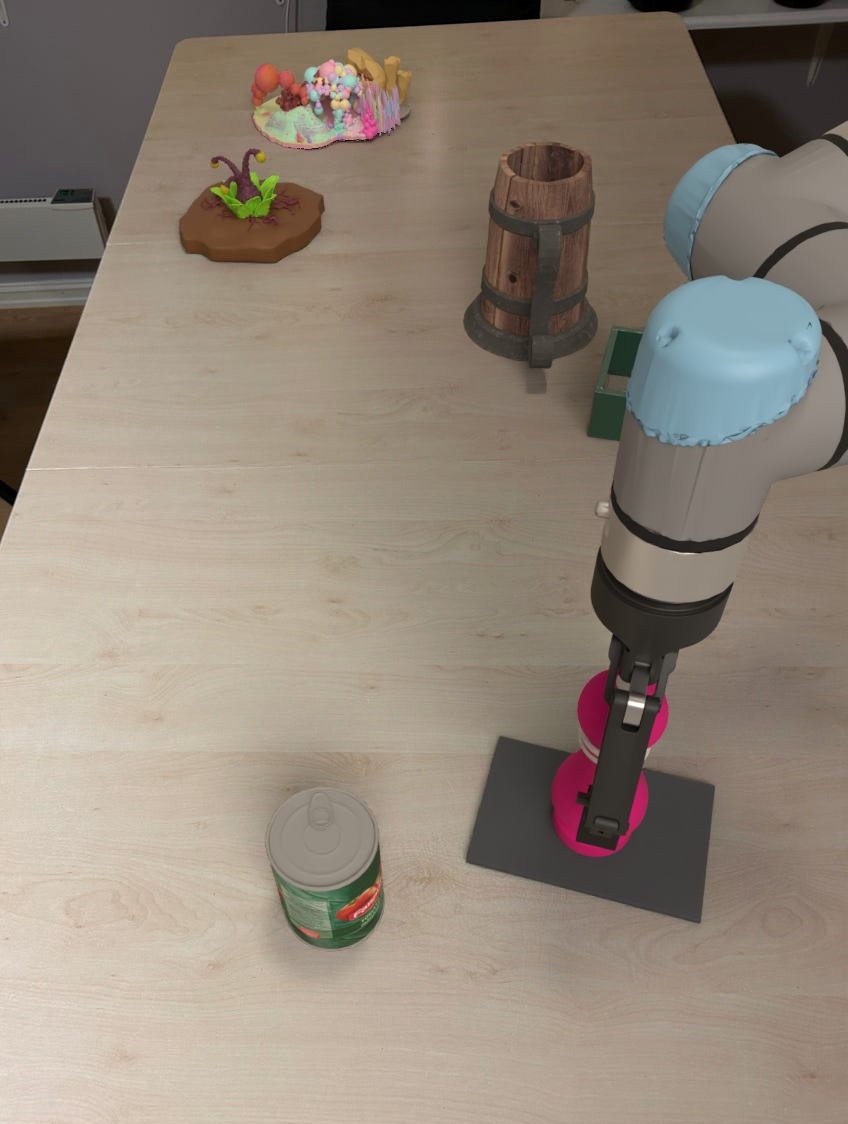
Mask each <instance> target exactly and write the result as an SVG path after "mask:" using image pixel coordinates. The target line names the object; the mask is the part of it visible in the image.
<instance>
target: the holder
mask: <svg viewBox="0 0 848 1124" xmlns="http://www.w3.org/2000/svg"><path fill="white" fill-rule="evenodd" d="M609 332H610V333H609V336H608V340H607V344H606V348H605V351H604V355H603V359H602V362H601V366H600V370H599V373H598V377H597V381H596V385H595V389H594V393H593V398H592V406H591V411H590V418H589V423H588V424H589V425H588V429H587V437H593V438H599V439H604V440H611V441H617V442H618V441H619V442H620V436H621V431H622V426H623V420H624V415H625V409H626V402H627V399H626V391H621V390H615V389H614V390H613V389H608V386H609V381H610V377H611V375H614V376H615V375H616V376H621V377H629V378H630V377H631V372H632V369H633V367H634V363H635V359H636V355H637V351H638V348H639V344H640V341H641V339H642V336H643V333H644V329H641V328H634V327H628V326H627V327H625V326H620V325H612V326H611V329H610V331H609Z"/></svg>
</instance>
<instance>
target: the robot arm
mask: <svg viewBox="0 0 848 1124" xmlns="http://www.w3.org/2000/svg"><path fill="white" fill-rule="evenodd" d="M663 231H664V232H663V237H662V238H663V241H664V243H665V246H666V248H667V250H668V252H669V254H670V256H671V257H672V259H673V260H674V262H675V263H676V264H677V267H679V269H680V270H681V271H682V273H683V274H684V275H685V277H686V279H687V280H688V282H685V283H683V284H681V285H679V286H677V287H676V288H675V289H673V290H672V291H670V292H668V293H667V294H666V295H665V296H664V297H662V298H661V299H660V300H659V301H658V303H657V304H656V305H655V306H654V307H653V309H652V311H651V312H650V314H649V317H648V319H647V321H646V324H645V327H644V329H643V330H644V333H643V336H642V339H641V341H640V344H639V348H638V351H637V355H636V359H635V363H634V367H633V369H632V372H631V377H629V378H628V380H627V386H626V389H625V392H626V399H627V402H626V409H625V415H624V420H623V426H622V431H621V436H620V441H619V443H618V448H617V453H616V459H615V464H614V469H613V475H612V483H611V487H610V494H609V498H608V499H598V500H597V501H596V503H595V507H594V515H595V516H596V517H598V518H600V519H601V518H602V519H605V520H604V524H603V528H602V534H601V539H600V546H599V547H598V551H597V554H596V559H595V564H594V569H593V574H592V580H591V585H590V602H591V606H592V609H593V612H594V614H595V615H596V617H597V619H598V620H599V621H600V623H601V624H602V625H603V626H604V628H606V630H608V631H609V632H610V633H611V638H610V643H609V649H608V656H607V657H608V659H609V662H610V663H609V667H608V669H609V672H608V676H607V681H606V685H605V690H604V700H605V702H606V703H607V704H608V705H609V711H608V715H607V720H606V724H605V729H604V733H603V738H602V742H601V747H600V751H599V756H598V760H597V765H596V770H595V774H594V779H593V783H592V785H590V784H589V787H588V791H587V793H584V792H580V791H578V794H577V799H576V804H579V805H583V806H584V807H583V811H582V815H581V819H580V823H579V827H578V831H577V835H576V840H575V841H576V842H580V843H584V844H588V845H592V846H596V847H600V848H604V849H608V850H612V851H615V850H616V847H617V844H618V841H619V838H620V835H621V836H625V835H626V833H627V831H628V830H629V826H630V823H629V818H630V814H631V810H632V806H633V802H634V798H635V794H636V791H637V787H638V783H639V779H640V775H641V771H642V769H643V767H644V763H645V760H646V759H645V755H646V751H647V747H648V744H649V740H650V736H651V732H652V729H653V726H654V722H655V719H656V716H657V714H658V713H660V710H661V706H662V702H663V698H664V694H665V693H666V689H667V685H668V680H669V677H670V675H671V674H672V673H673V672H674V671H675V669H676V665H677V661H678V658H679V651H680V650H682V649H683V650H684V649H685V648H686V649H687V648H689V647H692V646H694V645H696V644H699V643H700V642H702V641H704V640H705V639H707V638H708V637H709V636H710V635H711V634H712V633H713V632H714V631H715V630H716V628H717V627H718V625H719V623H720V622H721V619H722V618H723V617H722V616H723V615H724V612H725V609H726V606H727V603H728V600H729V597H730V595H731V592H732V589H733V586H734V583H735V581H736V580H737V578H738V575H739V572H740V570H741V567H742V565H743V562H744V559H745V556H746V554H747V552H748V549H749V546H750V544H751V541H752V538H753V536H754V533H755V531H756V528H757V525H758V523H759V517H760V514H761V511H762V509H763V507H764V505H765V502H766V499H767V497H768V495H769V492H770V491H771V487H772V486H773V485H774V484H775V483H777V482H779V481H783V480H788V479H792V478H797V477H802V476H806V475H810V474H813V473H815V472H820V471H821V472H822V471H824V470H829V469H834V468H838V467H842V466H847V465H848V120H846V121H844V122H843V123H841V124H839V125H838V126H835V127H833V128H831V129H830V130H828V131H826V132H825V133H823V134H821V136H819V137H818V138H816V139H813V140H810V141H809V142H806V143H805V144H803V145H801V146H799V147H798V148H795V149H794V150H792V151H790V152H789V153H786V154H785V155H782V156H781V157H779V156H778V154H777V153H776V152H774V151H773V150H769V149H765V148H763V147H761V146H759V145H757V144H753V143H743V142H742V143H735V144H725V145H722V146H720V147H718V148H715V149H713V150H712V151H710V152H708V153H706V154H705V155H703V157H701V158H700V159H698V160H697V161H696V162H695V163H694V164H693V165H692V166H691V167H690V168H689V169H688V170H687V171H686V172H685V173H684V174H683V176H682V177H681V178H680V180H679V181H678V183H677V184H676V186H675V188H674V189H673V191H672V193H671V195H670V197H669V200H668V202H667V205H666V209H665V212H664V217H663ZM618 668H619V676H620V678H621V680H623V681H624V682H626V683H630V687H629V691H627V690H622V689H618V688H616V687H615V681H616V677H617V672H618ZM656 682H657V683H656ZM655 683H656V688H655V692H654V694H653V695H646V693H647V686H650V685H653V684H655ZM665 695H666V694H665ZM644 759H645V760H644Z"/></svg>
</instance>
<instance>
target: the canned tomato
mask: <svg viewBox="0 0 848 1124" xmlns="http://www.w3.org/2000/svg"><path fill="white" fill-rule="evenodd" d="M380 845H381V844H380V829H379V826H378V821H377V819H376V816H375V815H374V813H373V810H372V808H371V807H370V806H369V805H368V803H367V802H366V801H364V800H363V799H362V798H361V797H359V795H357V794H355V793H354V792H351V791H349V790H346V789H344V788H341V787H336V786H328V785H326V786H325V785H323V786H314V787H310V788H306V789H303V790H301V791H298V792H296V793H294V794H293V795H291V796H289V797H288V798H286V799H285V800H284V801H283V802H282V803H281V804H280V805H279V806H278V807H277V808H276V809H275V811H274V812H273V814H272V815H271V817H270V820H269V822H268V823H267V827H266V831H265V839H264V846H265V852H266V856H267V859H268V861H269V864H270V865H269V866H270V869H271V871H272V875H273V878H274V883H275V886H276V889H277V892H278V896H279V899H280V902H281V905H282V910H283V912H284V918H285V921H286V923H287V925H288V927H289V928H290V930H291V931H292V934H293V935H294V936H296V938H297V939H299V941H300V942H302V943H304V944H305V945H307V946H308V947H310V948H313V949H316V950H319V951H325V952H340V951H345V950H350V949H352V948H354V947H356V946H358V945H360V944H362V943H363V942H364V941H366V940H367V939H368V938H370V936H372V934H373V933H374V932H375V931H376V929H377V928H378V926H379V924H380V922H381V920H382V918H383V915H384V911H385V904H386V900H385V891H384V879H383V869H382V866H383V865H382V857H381V856H382V855H381V846H380Z"/></svg>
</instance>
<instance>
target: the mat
mask: <svg viewBox="0 0 848 1124" xmlns="http://www.w3.org/2000/svg"><path fill="white" fill-rule="evenodd" d="M573 753H574V752H570V751H566V750H562V749H557V748H554V747H549V746H545V745H541V744H536V743H532V742H527V741H523V740H519V739H515V738H511V737H504V736H501V735H500V736H499V737H498V740H497V743H496V746H495V749H494V754H493V758H492V761H491V765H490V769H489V772H488V777H487V780H486V783H485V788H484V791H483V795H482V799H481V802H480V806H479V810H478V813H477V817H476V820H475V825H474V828H473V832H472V836H471V839H470V843H469V846H468V850H467V854H466V858H465V863H467V864H470V865H474V866H478V867H482V868H486V869H489V870H492V871H493V870H494V871H497V872H500V873H505V874H508V875H511V876H512V875H513V876H516V877H520V878H523V879H528V880H531V881H535V882H539V883H542V884H543V883H544V884H546V885H550V886H554V887H557V888H561V889H566V890H569V891H573V892H577V893H579V894H580V893H581V894H585V895H588V896H591V897H596V898H600V899H603V900H607V901H611V902H615V903H619V904H622V905H626V906H630V907H634V908H637V909H640V910H644V911H645V910H646V911H648V912H653V913H657V914H661V915H664V916H668V917H672V918H676V919H678V920H683V921H686V922H690V923H695V924H700V923H701V922H702V913H703V907H704V906H703V905H704V897H705V888H706V887H705V886H706V877H707V866H708V857H709V848H710V840H711V839H710V838H711V828H712V820H713V812H714V801H715V800H714V799H715V790H716V786H715V785H713V784H709V783H704V782H700V781H696V780H691V779H687V778H684V777H678V776H674V775H670V774H666V773H662V772H658V771H657V772H656V771H653V770H648V769H645V768H642V772H643V774H644V776H645V779H646V783H647V788H648V804H647V808H646V813H645V815H644V818H643V820H642V821H641V823H640V824H639V825H638V826H637V828H636V829H635V830H633V831H632V832H631V835H630V837H629V840H628V841H627V843H626V844H625V845H624V846H623V847H622V848H621V849H620V850H619V851H617V852H615V853H613V854H610V855H607V856H602V857H592V856H586V855H582V854H579V853H577V852H575V851H573V850H572V849H570V848H569V847H568V846H566V845H565V844H564V843H563V842H562V840H561V839H560V838H559V836H558V835H557V833H556V830H555V828H554V825H553V810H554V806H553V803H552V795H551V790H552V784H553V781H554V778H555V776H556V773H557V771H558V769H559V767H560V766H561V765H562V763H563V762H564V761H565V760H566V759H567V758H568V757H569V756H570V755H571V754H573Z"/></svg>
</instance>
